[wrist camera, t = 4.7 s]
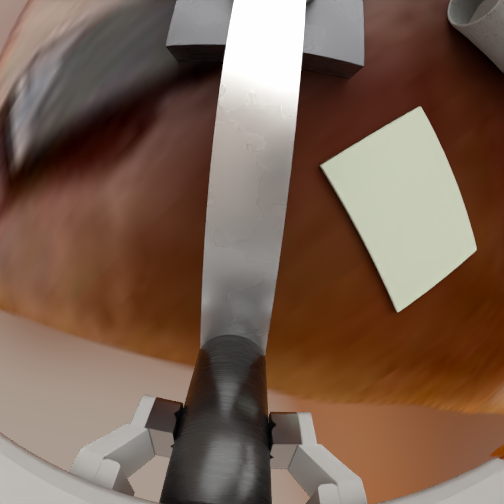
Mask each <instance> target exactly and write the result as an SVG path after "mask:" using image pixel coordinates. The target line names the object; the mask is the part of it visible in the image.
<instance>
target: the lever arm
mask: <svg viewBox="0 0 504 504" xmlns="http://www.w3.org/2000/svg"><path fill="white" fill-rule="evenodd" d="M308 1H310V0H234V3H233V9H232V14H231V20H230V25H229V31H228V37H227V43H226V49H225V55H224V62H223V69H222V76H221V83H220V90H219V97H218V105H217V113H216V121H215V130H214V139H213V148H212V158H211V168H210V178H209V189H208V201H207V214H206V228H205V243H204V260H203V279H202V303H201V339H200V351H199V354H198V358H197V361H196V365H195V368H194V372H193V376H192V379H191V383H190V387H189V390H188V394H187V397H186V401H185V405H184V408H183V412H182V416H181V419H180V423H179V427H178V431H177V434H176V438H175V442H174V446H173V450H172V454H171V457H170V461H169V465H168V469H167V473H166V478H165V481H164V485H163V489H162V493H161V498H160V502H159V503H161V504H272V499H271V498H272V497H271V471H270V447H269V424H268V404H267V381H266V361H265V351H266V345H267V339H268V332H269V326H270V320H271V313H272V307H273V300H274V294H275V287H276V280H277V273H278V266H279V259H280V252H281V244H282V237H283V229H284V222H285V214H286V206H287V198H288V190H289V182H290V173H291V164H292V156H293V147H294V137H295V128H296V118H297V108H298V97H299V87H300V75H301V64H302V51H303V38H304V24H305V9H306V2H308Z"/></svg>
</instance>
